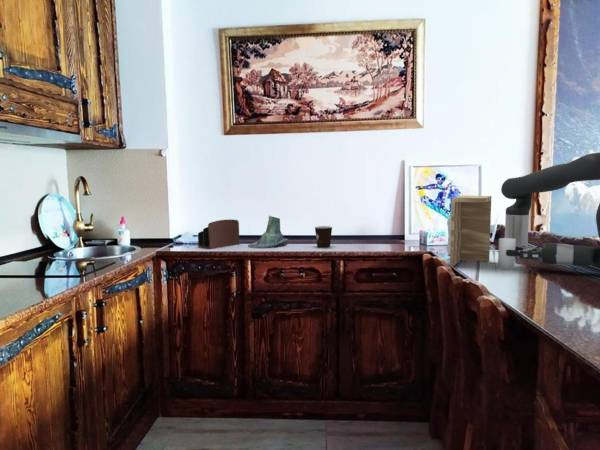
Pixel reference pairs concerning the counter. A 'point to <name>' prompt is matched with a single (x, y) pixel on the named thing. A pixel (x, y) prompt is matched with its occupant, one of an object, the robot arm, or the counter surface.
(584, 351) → the counter surface
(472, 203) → the cubby
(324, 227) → the coffee mug
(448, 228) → the plastic bottle
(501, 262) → the white upright cylinder
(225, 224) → the letter holder
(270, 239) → the tree stump
